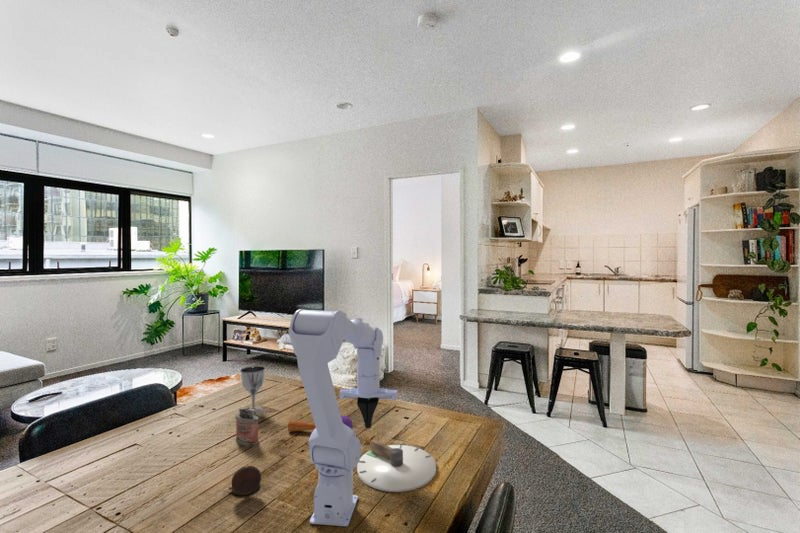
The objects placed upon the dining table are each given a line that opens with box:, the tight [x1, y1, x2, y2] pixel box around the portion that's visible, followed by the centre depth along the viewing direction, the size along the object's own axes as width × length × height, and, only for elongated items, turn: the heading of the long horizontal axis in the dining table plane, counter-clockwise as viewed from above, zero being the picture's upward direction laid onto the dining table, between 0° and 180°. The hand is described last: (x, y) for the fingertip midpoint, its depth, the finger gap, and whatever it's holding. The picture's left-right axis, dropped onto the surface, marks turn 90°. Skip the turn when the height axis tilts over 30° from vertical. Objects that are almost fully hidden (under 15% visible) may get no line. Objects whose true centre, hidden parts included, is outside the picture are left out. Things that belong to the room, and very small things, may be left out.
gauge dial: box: [356, 444, 437, 493], centre depth 98 cm, size 20×20×1 cm
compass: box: [222, 464, 262, 496], centre depth 89 cm, size 8×8×7 cm
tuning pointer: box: [369, 439, 403, 466], centre depth 100 cm, size 11×3×3 cm, turn 49°
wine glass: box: [240, 365, 266, 416], centre depth 134 cm, size 8×8×15 cm
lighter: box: [235, 406, 260, 447], centre depth 112 cm, size 8×3×10 cm, turn 62°
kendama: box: [287, 415, 353, 433], centre depth 117 cm, size 6×6×20 cm
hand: (368, 426), depth 99 cm, fingers closed
